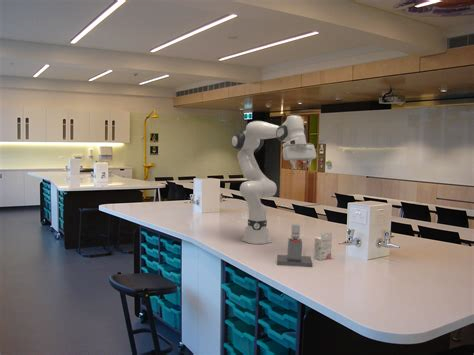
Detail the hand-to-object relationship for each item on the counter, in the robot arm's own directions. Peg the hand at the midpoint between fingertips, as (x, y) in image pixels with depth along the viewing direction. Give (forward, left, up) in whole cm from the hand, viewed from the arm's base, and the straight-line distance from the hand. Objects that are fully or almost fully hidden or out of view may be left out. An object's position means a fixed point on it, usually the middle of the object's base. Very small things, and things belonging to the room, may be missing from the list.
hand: (301, 167), depth 233 cm
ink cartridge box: (0, +14, -50) cm, 52 cm away
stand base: (+12, -2, -50) cm, 51 cm away
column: (+12, -2, -48) cm, 49 cm away
